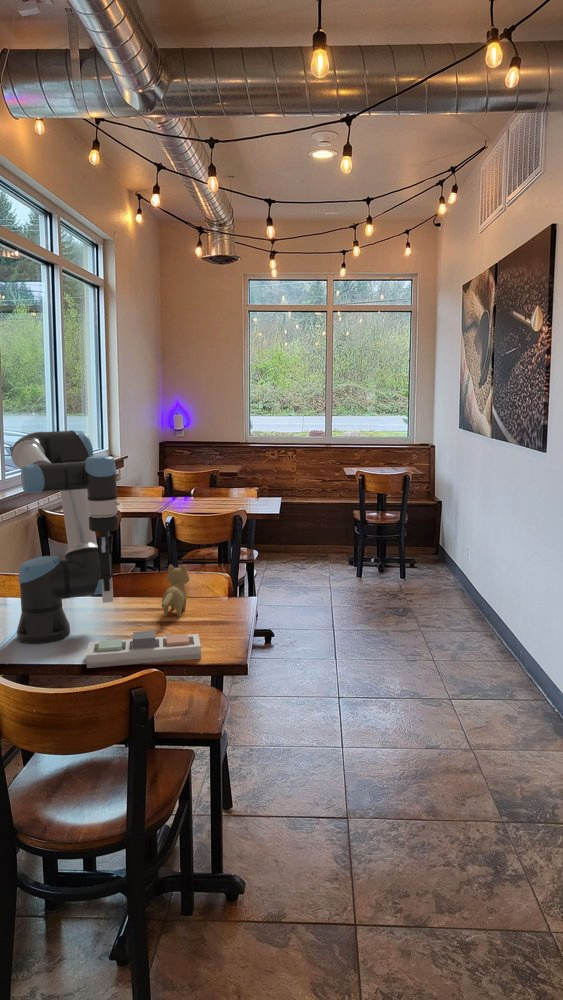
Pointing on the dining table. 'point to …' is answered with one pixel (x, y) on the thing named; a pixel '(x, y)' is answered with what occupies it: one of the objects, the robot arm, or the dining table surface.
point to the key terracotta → (177, 640)
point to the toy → (176, 590)
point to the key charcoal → (144, 639)
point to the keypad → (143, 653)
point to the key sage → (110, 645)
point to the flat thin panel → (142, 625)
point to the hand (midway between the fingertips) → (108, 601)
